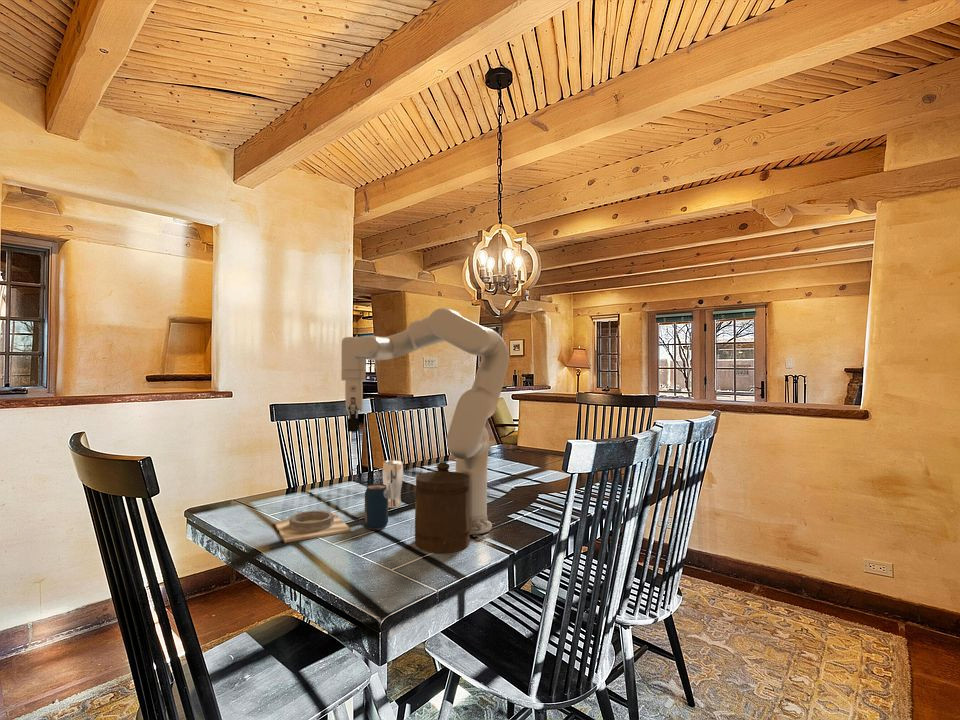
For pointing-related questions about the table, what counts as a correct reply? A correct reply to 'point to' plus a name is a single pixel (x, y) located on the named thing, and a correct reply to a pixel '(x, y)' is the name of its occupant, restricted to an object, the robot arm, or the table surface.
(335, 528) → the collar plate
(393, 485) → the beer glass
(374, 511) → the soda can
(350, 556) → the table surface
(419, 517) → the wooden container
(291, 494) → the table surface
